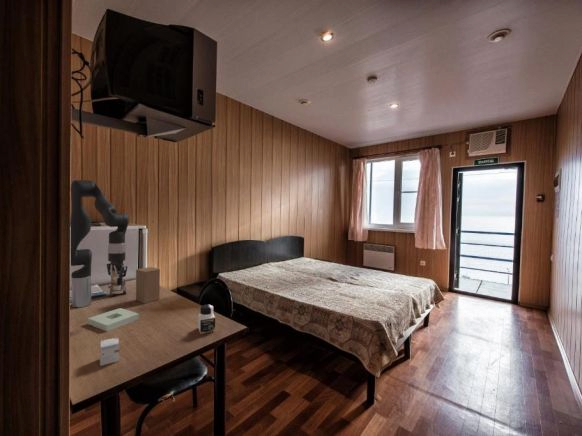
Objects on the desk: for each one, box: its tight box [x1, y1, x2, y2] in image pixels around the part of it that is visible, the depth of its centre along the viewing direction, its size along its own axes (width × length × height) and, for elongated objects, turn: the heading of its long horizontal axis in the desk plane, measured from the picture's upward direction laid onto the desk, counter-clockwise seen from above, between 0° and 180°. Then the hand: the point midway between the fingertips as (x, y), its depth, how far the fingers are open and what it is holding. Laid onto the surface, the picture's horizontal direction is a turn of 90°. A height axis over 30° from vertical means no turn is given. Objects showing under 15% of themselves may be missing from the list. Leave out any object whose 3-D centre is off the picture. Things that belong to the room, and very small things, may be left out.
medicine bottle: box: [197, 304, 216, 335], centre depth 133 cm, size 7×7×12 cm
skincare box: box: [99, 336, 120, 367], centre depth 105 cm, size 6×6×7 cm
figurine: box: [107, 275, 127, 297], centre depth 179 cm, size 9×12×15 cm
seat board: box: [87, 307, 140, 332], centre depth 138 cm, size 16×16×3 cm
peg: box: [112, 271, 121, 290], centre depth 139 cm, size 4×4×10 cm
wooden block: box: [135, 266, 161, 305], centre depth 170 cm, size 10×10×20 cm
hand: (116, 284), depth 139 cm, fingers closed on peg, 4 cm apart
